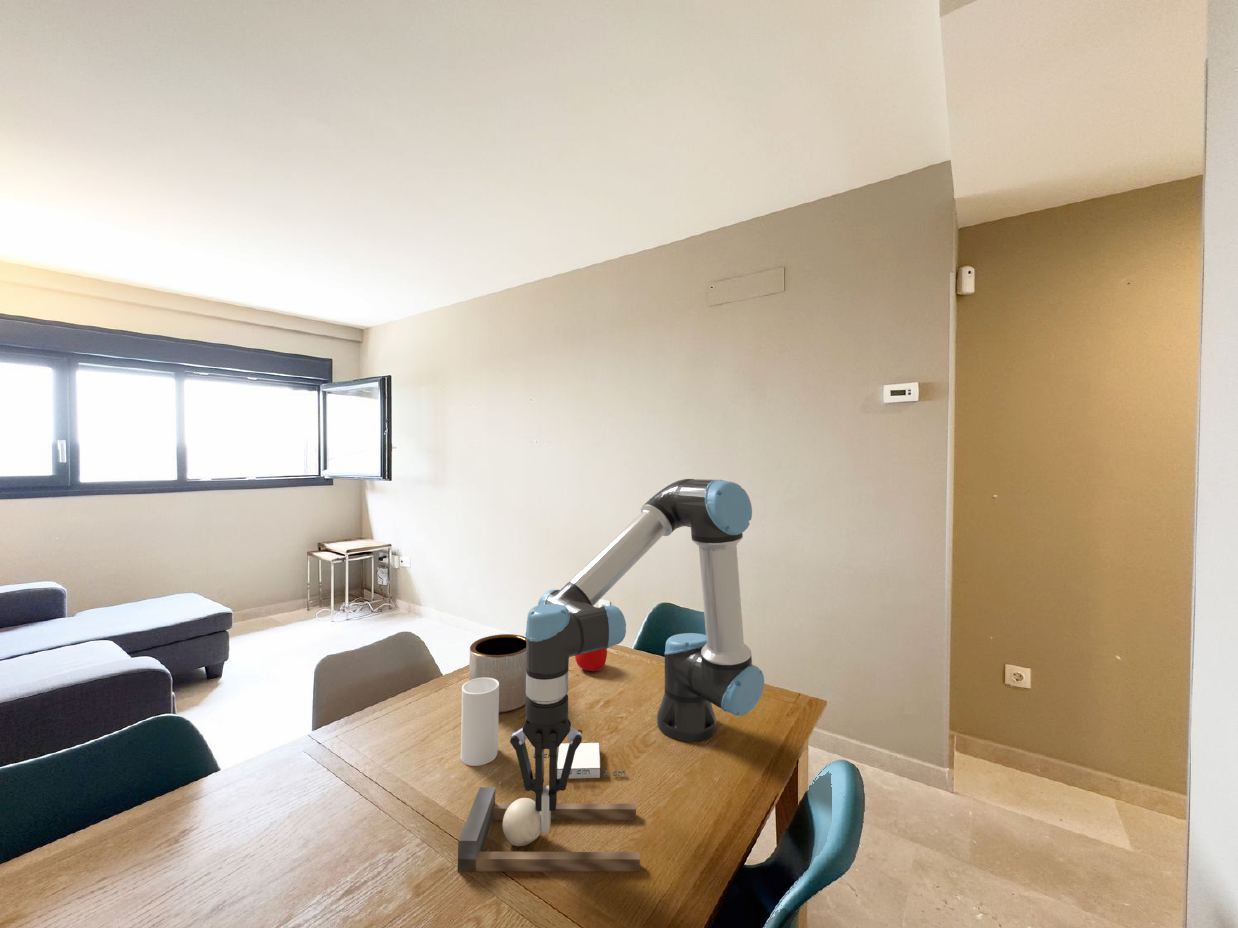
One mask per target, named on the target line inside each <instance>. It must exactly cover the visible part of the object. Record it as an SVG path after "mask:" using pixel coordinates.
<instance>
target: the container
mask: <svg viewBox="0 0 1238 928" xmlns="http://www.w3.org/2000/svg"><path fill="white" fill-rule="evenodd" d="M568 747H569V742H562V743H561V744H560V746H559V747H558V760H557V779H559V778H561V774H562V770H563V767H564V763H565V759H566V755H567V751H568ZM600 747H601V746H600V742H581V743H580V745H579V746H578V748H577V749H576V751H575V755H574V759H573V763H572V766H571V770H570V774H569V778H568V779H600V778H601V770H602V769H601V768H602V767H601V749H600ZM533 758H534V759H535V753H534V754H533ZM547 758H548V759H549V753H544V759H547ZM602 773H603V775H602V776H603V777H607V776H609V774H608V770H606V769H604V770H603V771H602ZM623 774H624V776H627V775H626V771H625V770H614V771H612V775H613V776H615V777H616V776H620V775H621V777H622V776H623Z"/></svg>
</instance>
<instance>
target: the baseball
mask: <svg viewBox="0 0 1238 928" xmlns="http://www.w3.org/2000/svg"><path fill="white" fill-rule="evenodd" d="M511 803H512V804H511V805H510V806H509V807H508V808H507V810H506V812H505V815H504V818H503V819H502V831H503V834H504V837H505V838H506V840H507V841H508V842H509V843H510V844H511V845H513V846H516V847H524V846H527V845H529V844H531V843H533V842H534V841H535V840H536V839H537V838H538V837H539V836H540V834H542V833H541V811H536V809H535V800H533V799H532V798H528V797H520V798H518V799H515V800H514V801H513V802H511Z"/></svg>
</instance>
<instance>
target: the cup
mask: <svg viewBox="0 0 1238 928" xmlns="http://www.w3.org/2000/svg"><path fill="white" fill-rule="evenodd" d="M499 714H500V713H499V682H498V681H497V680H495V679H493V678H476V679H472V680H470V681H469V680H468V681H466V682H465V683H463V685H462V686H461V719H460V720H461V721H460V723H461V724H460V726H461V727H460V761H461V762H462V764H465V765H466V766H473V767H477V766H478V767H479V766H483V765H486V764H488V763H491V762H492V761H494V760H495V759H496V757H497V756H498V753H499V752H498V751H499Z"/></svg>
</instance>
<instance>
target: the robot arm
mask: <svg viewBox="0 0 1238 928" xmlns="http://www.w3.org/2000/svg"><path fill="white" fill-rule="evenodd" d="M752 515H753V508H752V502H751V499H750V496H749V494H748V493H747V491H746V489H744V488H743V487H742V486H741V485H740V484H739V483H736V482H734V481H729V480H723V479H696V478H695V479H694V478H684V479H680V480H677V481H674V482H672V483H671V484H668V485H667V486H665V487H664V488H662V489H661V490H660V491H658V492H656V493H655V494H654V495H653V496H652V497H650V498H649V500H647V502H645V503H644V504H643V505H642V506H641V508H640V514H638V515H637V517H635V519H633V520H632V521H631V522H630V523H629V524H628V525H627V526H626V527H624V529H623V530H622V531H620V532H619V534H617V536H615V537H614V539H613V540H611V541H610V542H609V543H608V544H607V545H606V546H605V547H604V548H603V549H602V550H601V551H600V552H598V554H597V555H595V557H593V558H592V559H591V560H590V561H589V562H588V563H587V564H586V565H585V566H584V567H583V568H581V570H580V571H578V572H577V574H575V576H574V577H572V578H571V579H570V580H569V581H568V582H567V583H566V584H564V586H563V587H562V588H560V589H550V590H547V591H546V592H544V593H543V594H542V595H541V596H540V598H539V600H538V601H537V605H536V606H534V607H532V608H531V609H530V610H529V611H528V613H527V620H526V628H525V629H526V630H525V637H526V666H527V667H526V695H527V697H526V704H525V720H524V723H523V725H522V728H520V729H514V731H513V732H512V734H511V736H510V738H509V739H510V741H509V743H510V744H511V746H512V747H513V749H514V750H515V752H516V757H517V760H518V765H519V770H520V773H521V778H522V782H523V786H524V789H525V791H527V792H534V795H535V800H534V801H535V809H536V811H542V812H541V833H540V834H549V833H550V826H551V820H550V819H551V811H555V809H556V804H557V802H558V799H557V798H558V797H557V796H558V792H560V791H562V792H563V791H565V790H566V789H567V785H568V782H569V779H570V778H569V774H570V770H571V766H572V763H573V759H574V755H575V751H576V749H577V748H578V746H579V745H580V743H582V741H583V731H582V730H581V729H575V728H573V726H572V724H571V720H570V719H569V695H568V693H569V666H570V664H569V663H570V661H569V660H570V658H571V657H575V656H576V655H579V654H583V653H588V652H592V651H596V650H600V649H609V648H611V647H613V646H616V645H619V644H621V643H622V642H623V641H624V639H625V637H626V634H627V623H626V618H625V615H624V614H623V611H622V610H621V609H620V608H619V607H617V606H616V605H602V606H599V607H598V606H597V607H596V606H595V605H596V603H598V602H599V601H600V600H601V599H602V598H603V597H604V596H605V595H606V594H607V593H608V592H609V591H610V590H611V589H612V588H613V587H614V586H615V585H616V584H617V583H618V581H620V580H621V578H623V576H625V574H626V573H627V572H629V570H630V569H631V568H632V567H633V566H634V565H636V563H637V562H639V560H640V559H642V557H644V555H645V554H646V553H647V552H648V551H650V550H651V548H652V547H653V546H654V545H655V544H656V543H657V542H658V541H660V540H661V538H662V537H668V536H670V535H671V534H672V533H673V532H674V531H675V530H676V529H679V528H683V527H687V528H690V533H691V534H690V535H691V541H692V542H693V543H695V545H697V546H698V550H699V551H698V553H699V563H700V575H701V590H702V601H703V612H704V627H705V628H704V629H705V634H703V633H695V632H688V633H687V632H685V633H684V632H683V633H678V634H673V635H672V636H670V637H668V638H667V639H666V642H665V647H664V648H665V651H664V691H663V692H664V693H663V696H662V700H661V703H660V705H659V709H658V711H657V716H656V717H657V718H656V722H657V728H658V729H659V731H660V732H661V733H663V734H664V735H666V736H667V737H669V738H672V739H674V740H677V741H682V742H688V743H689V742H692V743H693V742H701V741H705V740H708V739H709V738H711V737H712V736H713V735H714V734H715V733H716V730H717V719H716V715H715V711H714V708H713V705H715V706H716V707H718V708H720V709H721V710H722V711H723V712H728V713H729V714H731V715H734V716H737V717H742V716H745V715H748V714H749V713H751V712H752V711H753V710H754V709H755V708H756V706H757V705H758V703H759V701H760V700H761V697H762V695H763V691H764V687H765V676H764V673H763V671H762V670H761V669H760V668H759V667H758V666H756V665H753V659H752V650H751V648H750V647H749V646H748V645H747V644H746V643H745V641H744V639H745V638H744V627H743V616H742V615H743V614H742V602H741V601H742V599H741V588H740V587H741V586H740V573H739V561H738V559H739V558H738V548H737V546H738V543H740V541H742V540H743V538H744V537H743V536H744V535H743V533H744V532H745V531H747V529H748V528H749V526H750V521H752ZM567 736H568V739H567V741H568V742H567V743H569V747H568V751H567V755H566V759H565V763H564V767H563V770H562V774H561V778H559V779H557V760H558V747H559V746H560V744H561V743H564V740H565V739H566V737H567ZM526 739H527V740H528V741H529V742H530V744H531V745H532V747H534V754H535V758H534V765H535V766H534V773H533V769H532V765H531V761H530V756H529V753H528V749H527V744H526ZM545 750H549V751H548V754H549V758H548V761H549V762H548V763H549V764H548V765H549V767H548V768H549V769H548V785H545V779H544V778H545V770H544V769H545V762H544V761H545V758H544V754H545Z"/></svg>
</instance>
